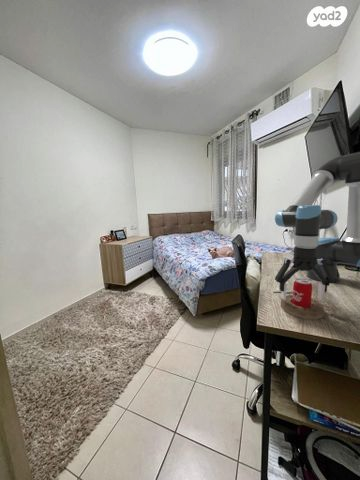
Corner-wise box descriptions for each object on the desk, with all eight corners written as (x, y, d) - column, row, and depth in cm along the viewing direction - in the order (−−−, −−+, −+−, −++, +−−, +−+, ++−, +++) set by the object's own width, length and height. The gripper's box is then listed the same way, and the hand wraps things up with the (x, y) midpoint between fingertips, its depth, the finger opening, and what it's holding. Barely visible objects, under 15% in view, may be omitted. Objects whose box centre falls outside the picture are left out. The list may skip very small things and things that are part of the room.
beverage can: (293, 304, 80) (295, 277, 79) (311, 308, 76) (313, 280, 75) (290, 310, 76) (292, 281, 74) (309, 315, 72) (311, 285, 70)
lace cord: (299, 292, 91) (299, 290, 91) (300, 293, 90) (300, 291, 90) (272, 291, 93) (272, 289, 93) (272, 292, 92) (273, 290, 92)
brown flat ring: (310, 301, 82) (310, 295, 82) (331, 320, 68) (332, 312, 68) (276, 300, 84) (276, 294, 83) (290, 318, 70) (290, 311, 70)
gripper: (335, 244, 74) (330, 295, 77) (267, 244, 78) (265, 294, 81) (349, 248, 67) (343, 304, 70) (274, 248, 70) (271, 302, 73)
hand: (301, 299), depth 75 cm, fingers open, 13 cm apart
